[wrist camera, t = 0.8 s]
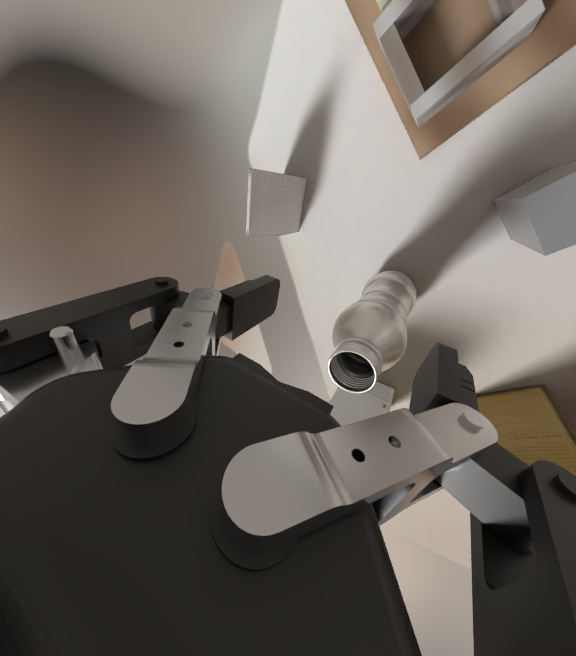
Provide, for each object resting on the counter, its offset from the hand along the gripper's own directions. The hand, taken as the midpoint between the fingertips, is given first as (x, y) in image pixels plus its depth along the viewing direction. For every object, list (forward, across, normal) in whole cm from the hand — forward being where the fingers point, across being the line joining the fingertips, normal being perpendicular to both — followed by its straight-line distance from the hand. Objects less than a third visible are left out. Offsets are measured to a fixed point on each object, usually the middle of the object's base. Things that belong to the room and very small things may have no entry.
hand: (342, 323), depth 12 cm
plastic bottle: (+24, -1, +5) cm, 24 cm away
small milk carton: (+23, +17, -2) cm, 29 cm away
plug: (+24, -9, -7) cm, 26 cm away
